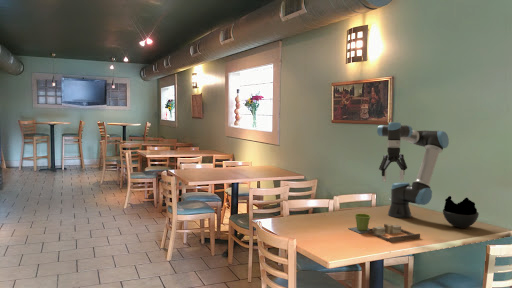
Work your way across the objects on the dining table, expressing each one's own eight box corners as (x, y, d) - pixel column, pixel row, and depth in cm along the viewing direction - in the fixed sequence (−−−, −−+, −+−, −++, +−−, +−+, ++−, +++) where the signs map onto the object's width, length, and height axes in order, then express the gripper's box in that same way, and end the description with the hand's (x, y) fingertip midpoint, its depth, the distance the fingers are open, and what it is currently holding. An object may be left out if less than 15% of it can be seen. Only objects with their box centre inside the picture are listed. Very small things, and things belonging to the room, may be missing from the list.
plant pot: (373, 229, 246) (373, 215, 245) (365, 232, 239) (366, 218, 238) (359, 226, 252) (359, 212, 251) (351, 229, 245) (351, 215, 245)
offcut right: (388, 232, 243) (388, 225, 242) (396, 231, 245) (396, 224, 244) (392, 233, 239) (392, 227, 239) (401, 232, 241) (401, 226, 241)
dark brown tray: (368, 233, 239) (368, 229, 239) (396, 229, 247) (396, 225, 247) (390, 242, 222) (390, 237, 221) (420, 238, 229) (420, 233, 229)
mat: (348, 228, 249) (348, 228, 249) (364, 226, 253) (364, 226, 253) (360, 233, 238) (360, 233, 238) (376, 231, 242) (376, 231, 242)
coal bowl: (485, 229, 248) (486, 199, 247) (460, 232, 241) (462, 201, 240) (458, 222, 267) (460, 193, 266) (435, 224, 260) (436, 195, 259)
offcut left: (372, 234, 238) (372, 227, 238) (380, 232, 241) (380, 226, 241) (377, 235, 235) (377, 229, 234) (385, 234, 237) (385, 227, 237)
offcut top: (384, 224, 241) (388, 223, 242) (384, 232, 242) (388, 231, 243) (388, 225, 238) (392, 225, 239) (388, 234, 238) (392, 233, 239)
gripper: (381, 147, 245) (380, 182, 246) (413, 147, 254) (412, 180, 256) (373, 147, 252) (372, 180, 253) (405, 146, 261) (404, 178, 263)
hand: (392, 180), depth 254 cm, fingers open, 13 cm apart
